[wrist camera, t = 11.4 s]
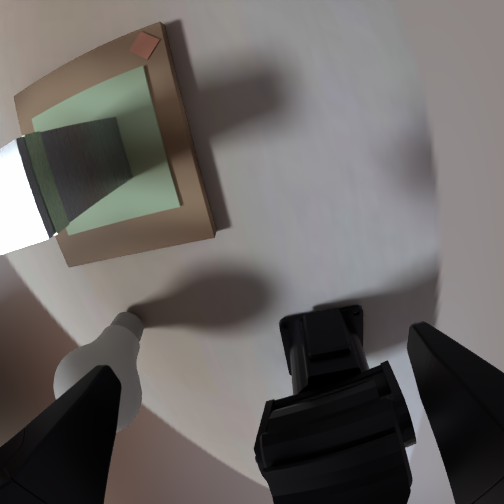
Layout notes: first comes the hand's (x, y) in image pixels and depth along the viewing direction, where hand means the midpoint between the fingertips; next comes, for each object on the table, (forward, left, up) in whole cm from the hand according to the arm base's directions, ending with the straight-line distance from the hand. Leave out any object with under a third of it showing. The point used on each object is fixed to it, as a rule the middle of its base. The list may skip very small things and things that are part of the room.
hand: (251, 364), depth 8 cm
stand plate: (+6, +9, -13) cm, 17 cm away
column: (+6, +9, -12) cm, 16 cm away
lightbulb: (-7, +12, -13) cm, 19 cm away
